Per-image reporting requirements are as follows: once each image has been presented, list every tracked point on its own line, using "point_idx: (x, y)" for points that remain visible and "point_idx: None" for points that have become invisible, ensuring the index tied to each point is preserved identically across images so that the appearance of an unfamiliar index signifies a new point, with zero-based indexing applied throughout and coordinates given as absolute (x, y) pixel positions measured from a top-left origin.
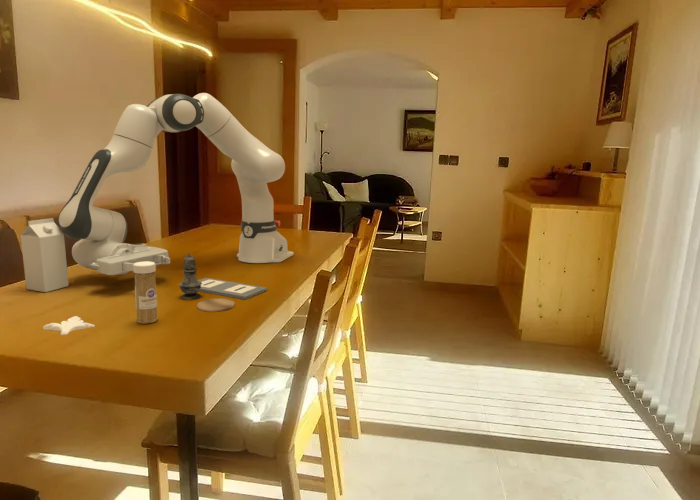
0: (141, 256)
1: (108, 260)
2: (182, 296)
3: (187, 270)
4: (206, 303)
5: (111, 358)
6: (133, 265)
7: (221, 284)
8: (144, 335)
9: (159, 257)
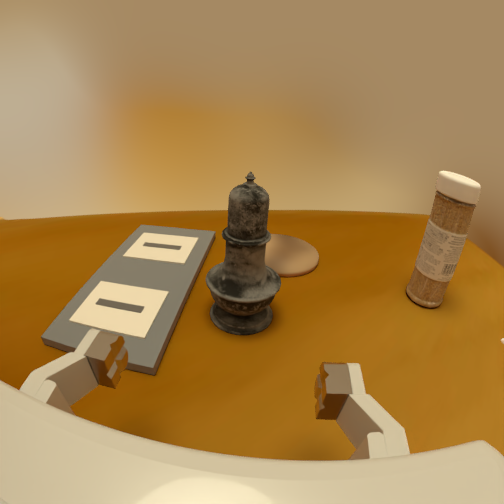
0: (192, 451)
1: (493, 499)
2: (264, 320)
3: (266, 231)
4: (288, 261)
5: (488, 264)
6: (480, 187)
7: (122, 283)
8: None
9: (59, 396)
